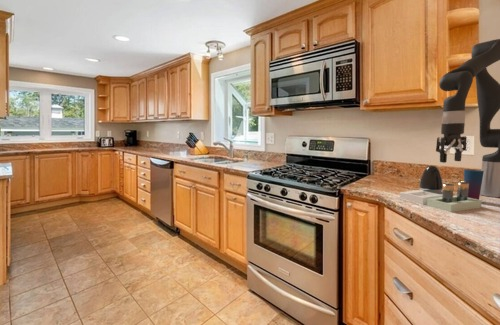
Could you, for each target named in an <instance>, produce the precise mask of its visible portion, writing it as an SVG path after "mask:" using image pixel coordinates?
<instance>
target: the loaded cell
mask: <svg viewBox="0 0 500 325" xmlns="http://www.w3.org/2000/svg"><path fill="white" fill-rule="evenodd" d="M468 189H469V183H467V182H466V181H464V180H461V181H458V182H457V189H456V190H457V193H456V195H457V202H458V201H465V200H468Z"/></svg>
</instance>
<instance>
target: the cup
mask: <svg viewBox="0 0 500 325" xmlns="http://www.w3.org/2000/svg"><path fill="white" fill-rule="evenodd" d="M483 173H484V171H483V170H482V169H475V168H465V169H463V181H466V182H467V183H469V189H468V198H473V199H478V200H480V197H481V194H480V191H481V185H482V179H483Z"/></svg>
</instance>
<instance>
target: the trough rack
mask: <svg viewBox="0 0 500 325" xmlns="http://www.w3.org/2000/svg"><path fill="white" fill-rule="evenodd" d="M482 200H483V199H479V200H478V199H473V198H468V200H465V201H458V202H457V194H455V195H454V194H453V202H451V203H445V202H442V197H438V198H431V199H427V204H426V206H427V207H429V208H434V209H437V210H438V209H439V210H442V211H445V212H449V213H454V212H461V211H466V210H473V209H478V208H482Z"/></svg>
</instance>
